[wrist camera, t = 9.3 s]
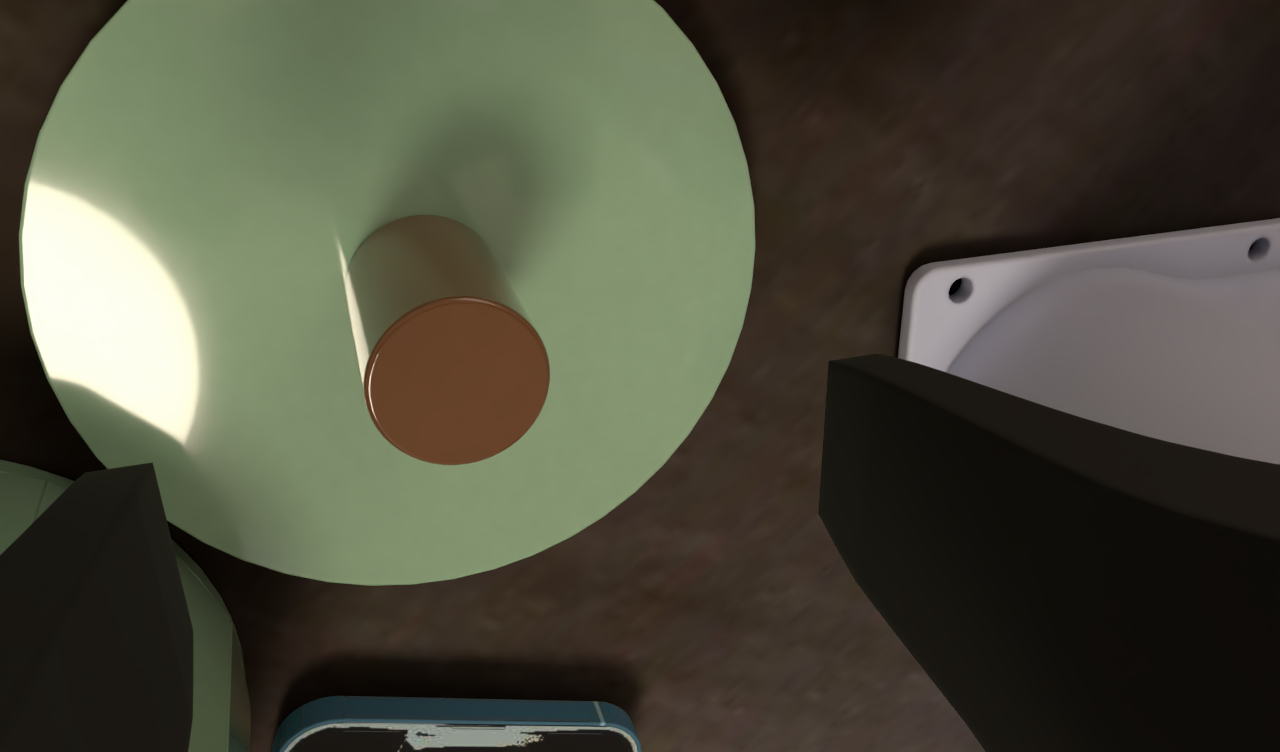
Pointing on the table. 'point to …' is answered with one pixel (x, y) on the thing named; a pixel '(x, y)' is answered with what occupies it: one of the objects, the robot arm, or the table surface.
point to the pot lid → (387, 269)
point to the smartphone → (455, 726)
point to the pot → (221, 724)
